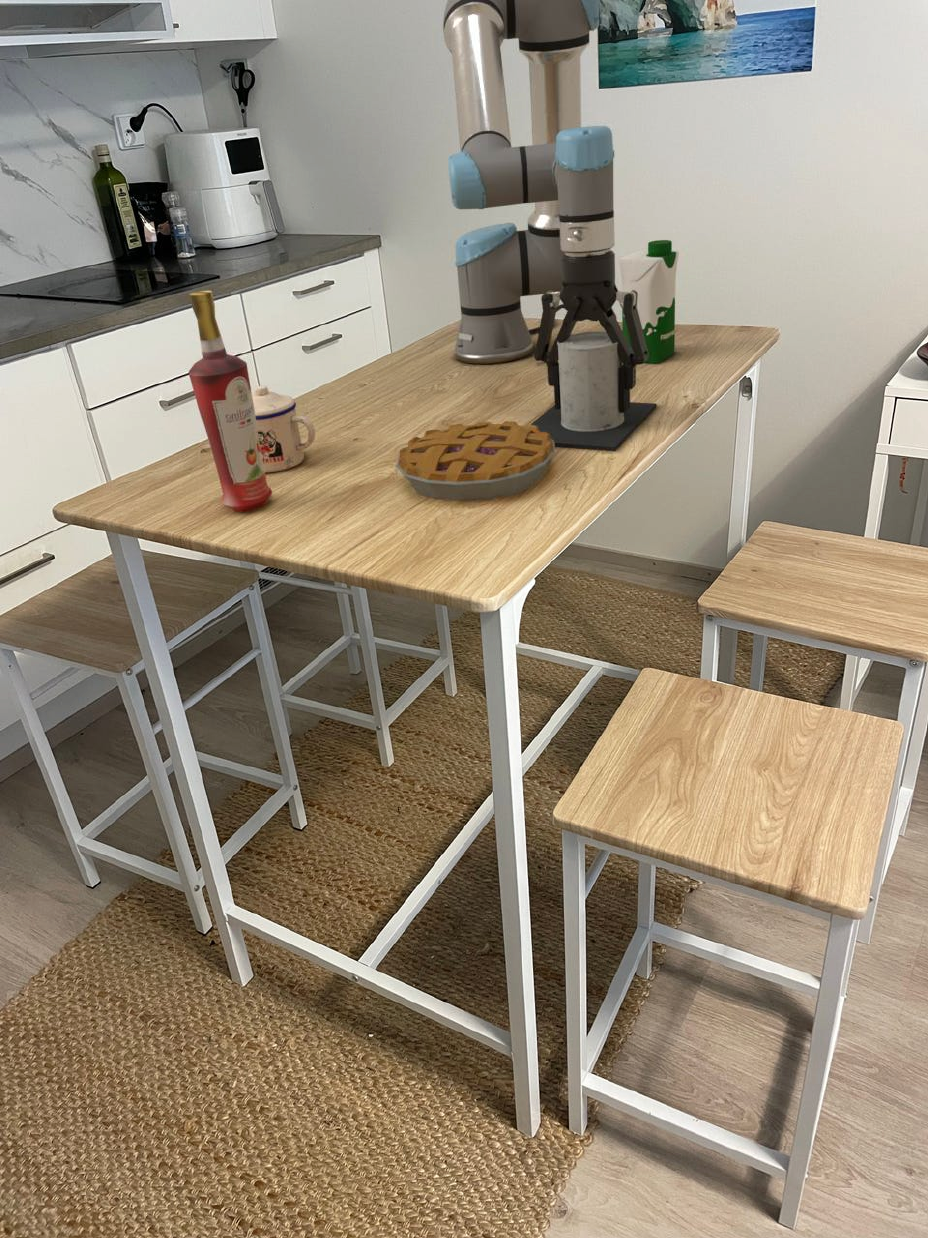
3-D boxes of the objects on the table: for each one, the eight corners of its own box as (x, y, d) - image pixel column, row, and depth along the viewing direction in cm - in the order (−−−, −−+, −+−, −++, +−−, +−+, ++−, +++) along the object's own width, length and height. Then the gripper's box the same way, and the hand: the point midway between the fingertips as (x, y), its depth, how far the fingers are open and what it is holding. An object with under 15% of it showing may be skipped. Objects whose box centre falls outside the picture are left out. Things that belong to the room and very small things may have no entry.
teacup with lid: (234, 473, 140) (217, 396, 134) (264, 451, 148) (249, 377, 142) (306, 475, 136) (291, 396, 131) (333, 453, 144) (320, 377, 138)
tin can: (622, 431, 138) (621, 346, 132) (557, 432, 140) (553, 349, 134) (626, 410, 146) (624, 329, 140) (564, 412, 148) (560, 333, 142)
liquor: (252, 491, 133) (206, 285, 119) (286, 500, 129) (243, 287, 115) (211, 509, 128) (158, 297, 115) (244, 519, 124) (193, 301, 110)
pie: (379, 506, 123) (373, 470, 121) (422, 448, 142) (418, 416, 139) (544, 506, 118) (541, 469, 116) (567, 446, 136) (565, 412, 134)
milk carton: (660, 365, 168) (661, 246, 158) (615, 361, 173) (613, 246, 163) (681, 352, 174) (683, 237, 164) (637, 349, 179) (636, 237, 169)
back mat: (561, 402, 155) (561, 398, 155) (656, 407, 148) (656, 403, 148) (512, 443, 140) (511, 439, 140) (615, 451, 133) (615, 447, 133)
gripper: (504, 257, 133) (515, 411, 144) (657, 254, 123) (656, 420, 134) (525, 248, 139) (534, 397, 150) (673, 244, 129) (671, 404, 140)
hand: (592, 408), depth 142 cm, fingers closed on tin can, 9 cm apart
